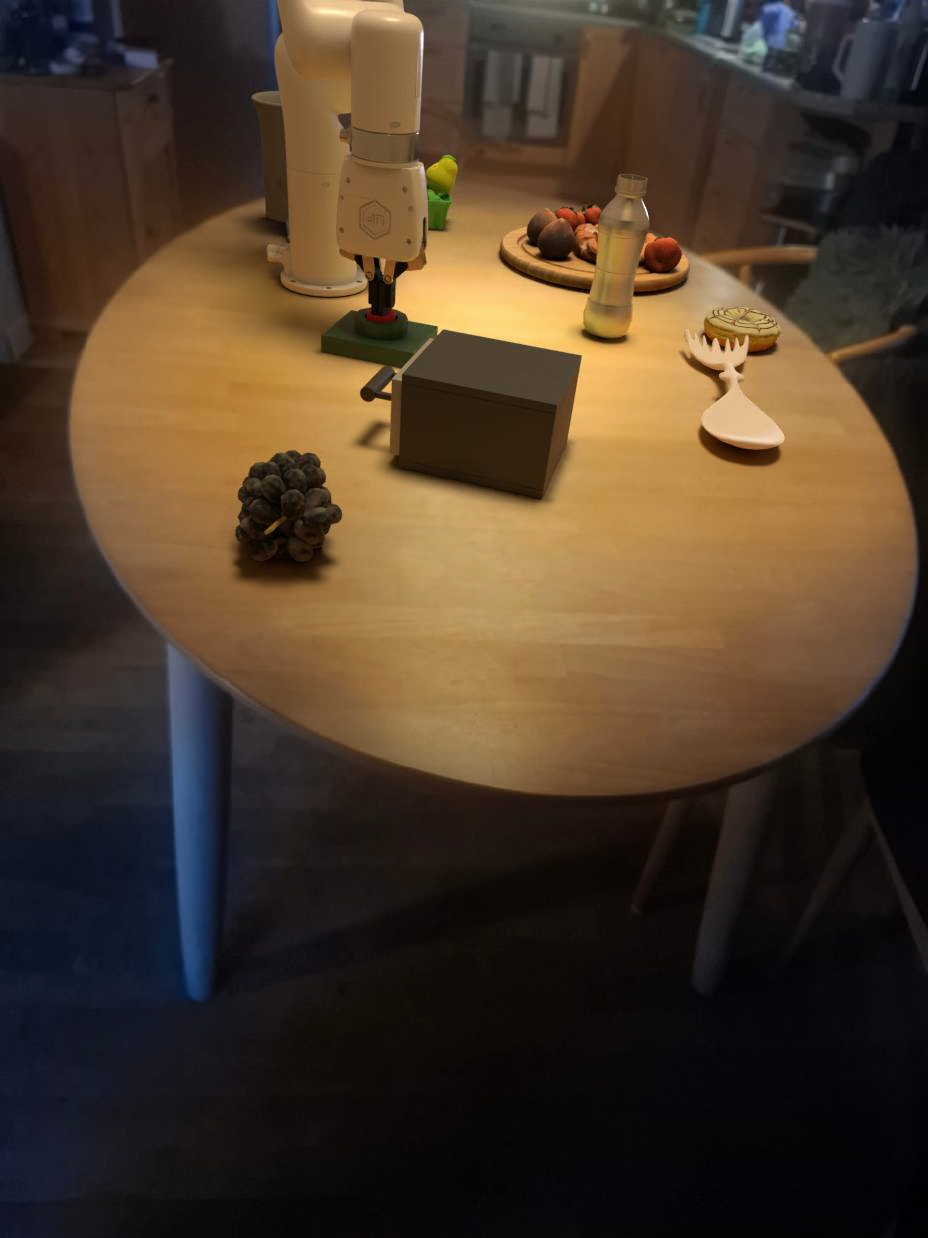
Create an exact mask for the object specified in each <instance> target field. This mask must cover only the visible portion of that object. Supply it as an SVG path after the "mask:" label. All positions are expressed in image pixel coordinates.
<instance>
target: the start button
mask: <svg viewBox="0 0 928 1238" xmlns="http://www.w3.org/2000/svg"><path fill="white" fill-rule="evenodd" d="M368 308H369V307H368ZM393 309H394V308H392V309H391V310H390V311H389V312H388V313H387V314H386V315H385V316H380V315H379V314H376V315H374V314H371V308H369V309H368V310H367V319H368V320H370V321H375V322H392V321H395V320H396V312H395V311H394V310H393Z"/></svg>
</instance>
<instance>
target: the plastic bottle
mask: <svg viewBox="0 0 928 1238" xmlns="http://www.w3.org/2000/svg"><path fill="white" fill-rule="evenodd" d="M647 184H648V178H647V177H646V176H643V175H638V174H634V173H633V174H632V173H620V174H618V176H617V180H616V185H615V187H614V193H616V194H615V197H613V198H612V199H611V200H610V201H609V202H608V203H607V205H605V207H604V208H603V210H601V215H600V217H599V222H598V249H597V258H596V262H597V264H596V267H595V274H594V278H593V282H592V287H591V289H590V291H589V296H588V297H587V300H586V303H585V306H584V309H583V312H582V314H583V317H582V318H583V326H584V329H585V330H586V332H588V333H589V334H591V335H594V336H597V337H600V338H607V339H615V338H616V339H618V338H621V337H623V336H625V334H626V333H627V332H628V331H629V329H630V327H631V324H632V320H633V310H634V309H633V308H634V305H633V298H634V292H633V291H634V282H635V276H636V272H637V270H636V269H637V267H638V263H639V259H640V255H641V252H642V249H643V246H644V243H645V240H646V237H647V234H649V230H650V226H651V224H650V216H649V213H648V210H647V207H646V206H645V203H644V201H643V197H645V196H646V194H647Z"/></svg>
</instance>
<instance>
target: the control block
mask: <svg viewBox="0 0 928 1238" xmlns="http://www.w3.org/2000/svg"><path fill="white" fill-rule="evenodd" d="M369 308H371V306H369V307H364V308H360V309H358V310H354V309H351V310H350V311H348V312H347V313H346V314H345V315H343V316H342V317H341V318H339V320H337V321H336V322H335V323H333V324H332V325H331V326H330V327H329V328H327V330H325V331H324V332H322V333H321V334H320V353H323V354H329V355H334V356H340V357H344V358H349V359H355V360H358V361H364V362H368V363H369V362H370V363H374V364H379V365H383V366H390V367H395V368H400V369H402V367H403V366H404V365H405V364H406V363H407V362H408V361H409V360H410V359H411V358H412V357H413V356H414V355H415V354H416V352H417V351H418V350H419V349H420V348H421V347H422V346H423V345H424V344H425V343H426V342H427V341H428V340H429V338H432V339H435V338H436V337H437V335H438V334H439V333H438V332H439V326H438V325H433V324H429V323H423V322H417V321H412V320H409V318H408V316H407V314H406V313H405V312H402V311H400V310H398V309H395V308H392V309H393V310H394V311H395V312H396V320H395V321H392V322H375V321H370V320H368V319H367V310H368V309H369Z"/></svg>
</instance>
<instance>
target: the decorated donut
mask: <svg viewBox="0 0 928 1238" xmlns="http://www.w3.org/2000/svg"><path fill="white" fill-rule="evenodd" d="M703 329H704V333H705V334H706V336H707V338H708V339H709V340H710V341H711V342H713V340H714V339H715V338H716V339H717V340H718V342H719V345H720V347H723V348H725V344H726V339H727V338H728V339H729V343H730V348H731V351H733V350H734V344H735V339H736V337H737V339H738V341H739V345H740V347H741V346H743V343H744V339H745V336H746V335H748V338H749V347H748V351H747V353H752V352H760V351H765V350H767V349H769V348H771V347H772V346H773V345H774V344H775V343H776V341H777V340H778V338H780V335H781V334H782V329H781V326H780V323H779V322H778V321H777V320H776V319H775V318H774V317H773V316H771V315H770V314H767V313H764V312H762V311H761V310H758V309H754V308H753V307H748V306H721V307H718V308H714V309H711V310H709V311H708V312H707V313H706V314H705V318H704V320H703Z"/></svg>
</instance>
